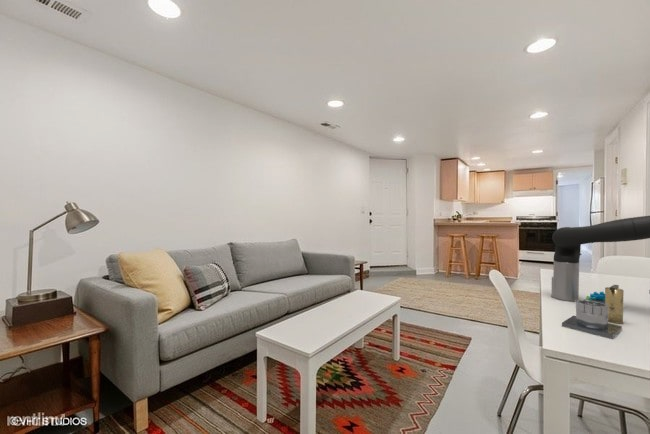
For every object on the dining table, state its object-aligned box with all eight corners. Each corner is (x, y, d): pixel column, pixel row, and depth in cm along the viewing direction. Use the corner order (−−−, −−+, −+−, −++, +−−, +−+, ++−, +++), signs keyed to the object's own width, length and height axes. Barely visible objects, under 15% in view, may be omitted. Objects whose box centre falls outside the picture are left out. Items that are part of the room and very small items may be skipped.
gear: (626, 306, 121) (617, 291, 118) (625, 318, 118) (616, 303, 115) (591, 303, 130) (583, 289, 127) (589, 314, 128) (580, 300, 125)
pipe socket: (561, 326, 104) (562, 301, 103) (573, 318, 111) (573, 296, 111) (612, 339, 93) (613, 312, 93) (621, 329, 101) (622, 304, 101)
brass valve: (602, 321, 108) (603, 286, 108) (607, 317, 112) (607, 283, 112) (620, 325, 104) (621, 288, 104) (624, 321, 109) (625, 286, 108)
